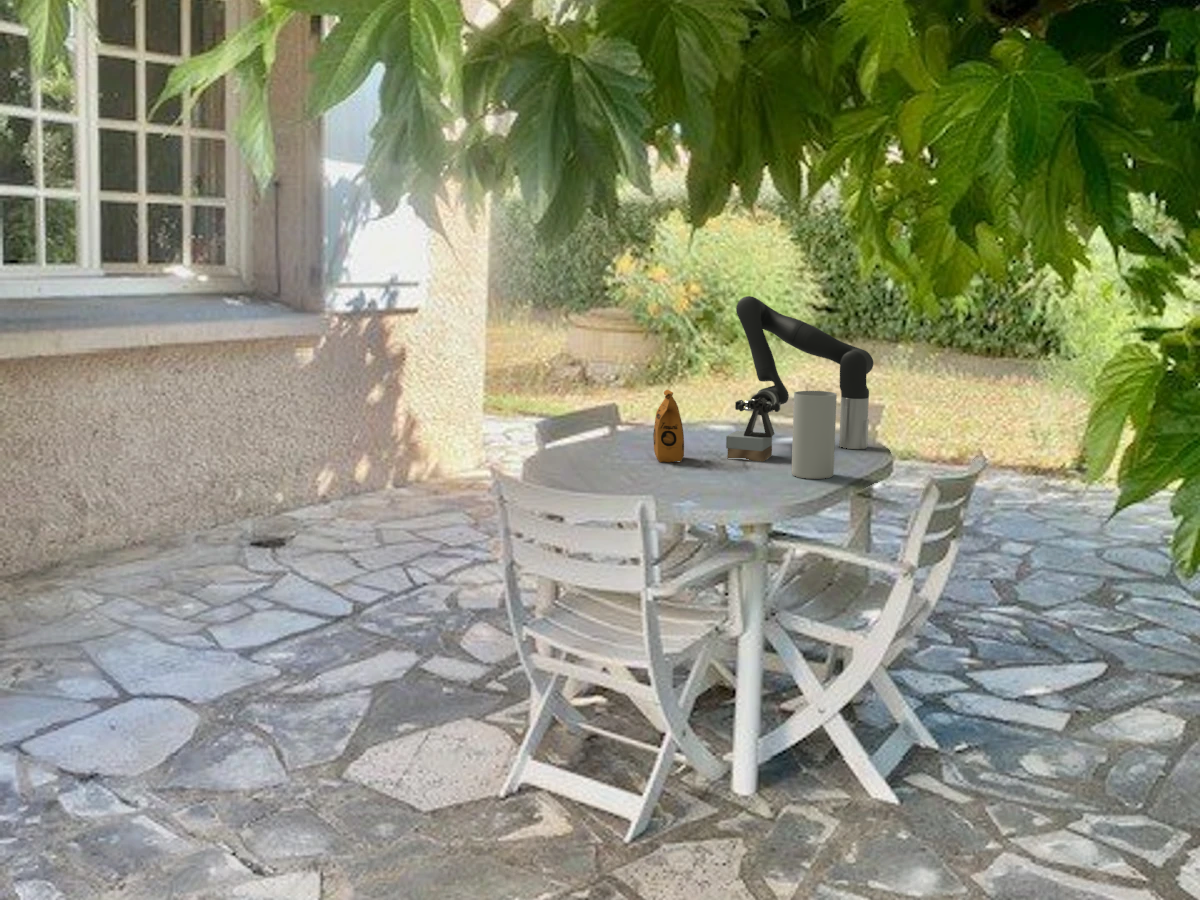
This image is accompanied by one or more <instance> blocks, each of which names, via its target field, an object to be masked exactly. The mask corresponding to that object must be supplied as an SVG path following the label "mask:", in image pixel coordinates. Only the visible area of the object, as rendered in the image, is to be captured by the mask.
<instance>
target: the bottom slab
mask: <svg viewBox="0 0 1200 900" xmlns="http://www.w3.org/2000/svg"><path fill="white" fill-rule="evenodd" d="M771 455H772V456H773V444H772V445H771V446H770V447H768V448H767V449H765V450H763V451H754V450H741V449H728V448H727V459H728V458H746V459H749V460H752V461H751V462H763V461H764V462H765V460H766V461H767V460H768V459H769V458H771V457H772V456H771Z"/></svg>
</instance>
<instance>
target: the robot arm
mask: <svg viewBox="0 0 1200 900" xmlns="http://www.w3.org/2000/svg"><path fill="white" fill-rule="evenodd" d="M735 309H736V312H735V313H736V314H737V317H738V319H739V321H740V324H741V326H742V328H743V331H744V334H745V336H746V339H747V341H748V345H749V348H750V349H749V350H750V354H751V355H752V356H751V357H752V360H753V365H754V368H755V372H756V376H757V379H758V381H759V382H772V383H773V385H771V386H768V387H767V386H766V387H764V388H762V389H760V390H758V391H757V393H755V394H753V395H752V396H751V398H750V399H747V400H743V399H739V400H737V401H735V405H734V409H735V410H736V411H739V412H743V411H746V412H753V410H754V402H755V401H756V400H757V399H759V398H760V397H761V398H760V399H759V400H758V404H759V405H760V406H762V402H761V401H760V400H761V399H762V398H765V399H766V413H768V414H770V413H771V412H773V411H774V412H776V413H778V412H779V411H781V405H784V404H786V403H787V402H788V400H789V398H790V397H789V391H788V390H787V388H786V386H785V384H784V383H783V381H782V379H781V377H780V375H779V372H778V370H777V364H776V361H775V358H774V355H773V353H772V349H771V347H770V345H769V343H768V340H767V338H766V335H765V333H764V331H766V332H768V333H772V334H773V335H775V336H776V337H777V338H779V339H780V340H782V341H783V342H785V343H786V344H788V345H790V346H791V347H793V348H795V349H798V350H800V351H801V352H804V353H806V354H808V355H812V356H816V357H819V358H822V359H827V360H829V361H832V362H834V363H836V364H838V365H839V389H840V412H839V413H840V415H839V418H840V419H839V440H838V442H839V443H838V444H839V445H838V447H839V446H840V447H839V448H841V447H843V448H842V449H846V448H847V450H865V449H867V448H868V445H869V444H868V443H869V442H868V440H869V423H870V422H869V403H870V402H869V401H870V399H869V398H870V390H869V388H868V386H867V375H868V374H869V373H870V372H871V371H872V370H873V367H874V359H873V356H872V355H871V354H870V353H869V352H868V351H867V350H865V349H862V348H859V347H856V346H854V345H851V344H848V343H846V342H843V341H842V340H839V339H837V338H835V337H834V336H832V335H830V334H828V333H826V332H825V331H823V330H821V329H819V328H817V327H815V326H814V325H811V324H809V323H807V322H805V321H803V320H801V319H798V318H794V317H791V316H787V315H785V314H783V313H780V312H778V311H776V310H775V309H773V308H772V307H770V306H768V305H766V304H765V303H764V302H762V301H761V300H760V299H758V298H756V297H754V296H751V295H746V296H743V297H742V298H740V300H738V302H737V304H736V307H735ZM758 416H761V412H760V411H759V412H758Z"/></svg>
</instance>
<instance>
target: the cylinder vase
mask: <svg viewBox="0 0 1200 900" xmlns="http://www.w3.org/2000/svg"><path fill="white" fill-rule="evenodd" d="M837 396H838V395H837V393H836V392H832V391H826V390H798V391H794V393H793V416H792V417H793V419H792V420H793V421H792V441H791V443H792V445H791V446H792V447H791V448H792V449H791V450H792V451H791V474H792V475H793V476H794V477H795V476H796V478H799V479H804V478H806V479H805V480H826V479H829V478H832V477H833V476H834V473H835V472H834V471H835V470H834V469H835V447H836V446H835V445H836V442H835V441H836V439H835V438H836V426H837V424H836V420H837V419H836V418H837V398H838V397H837ZM825 478H826V479H825Z"/></svg>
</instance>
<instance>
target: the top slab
mask: <svg viewBox="0 0 1200 900" xmlns="http://www.w3.org/2000/svg"><path fill="white" fill-rule="evenodd" d="M754 432H755V433H763V432H761V431H760V432H759V431H754ZM744 433H745V431H744V430H735V431H733V432H731V433H730V434H728V435H726V439H725V441H726V442H725V448H726V449H727V450H728V449H741V450H754V451H763V450H765V449H767V448H768V447H770V446H771V445H772V446H773V443H772V442H773V436H772V437H771V438H768V437H758V436H757V437H752V436H744Z"/></svg>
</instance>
